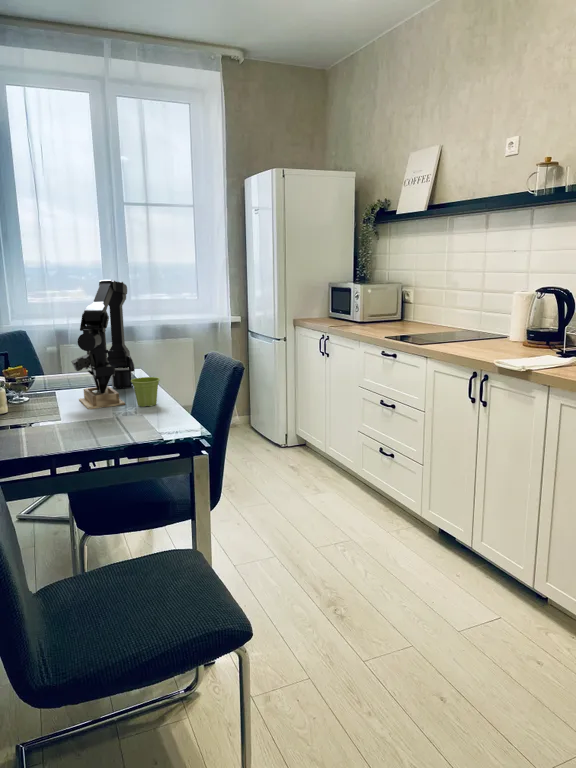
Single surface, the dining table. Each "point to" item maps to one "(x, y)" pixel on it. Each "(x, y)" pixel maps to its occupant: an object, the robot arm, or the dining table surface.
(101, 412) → the dining table surface
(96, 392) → the bracket
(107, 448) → the dining table surface
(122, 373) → the robot arm
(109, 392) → the light wood shallow box
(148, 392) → the plant pot
